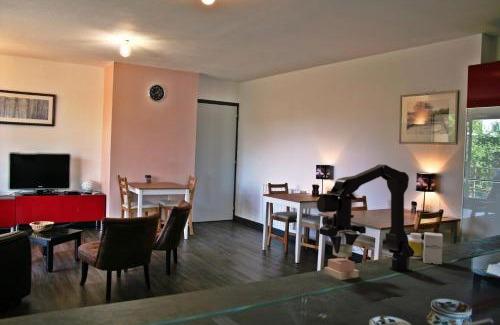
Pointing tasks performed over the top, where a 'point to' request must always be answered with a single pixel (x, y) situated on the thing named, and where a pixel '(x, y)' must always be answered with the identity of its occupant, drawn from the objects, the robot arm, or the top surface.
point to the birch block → (341, 273)
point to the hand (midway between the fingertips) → (342, 252)
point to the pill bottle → (416, 245)
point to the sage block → (343, 250)
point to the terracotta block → (341, 264)
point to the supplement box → (433, 248)
